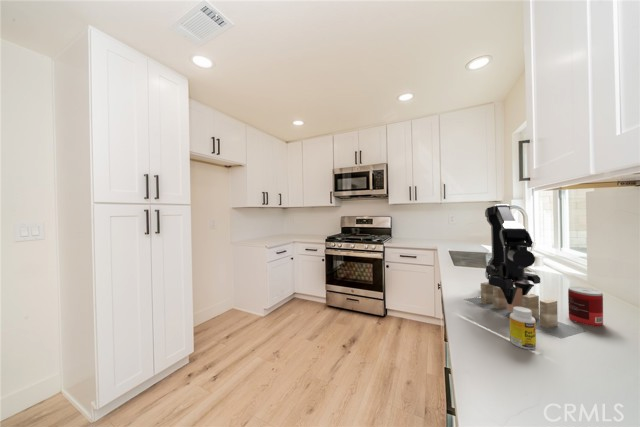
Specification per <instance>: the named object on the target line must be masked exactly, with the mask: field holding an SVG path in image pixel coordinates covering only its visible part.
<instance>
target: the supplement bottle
mask: <svg viewBox="0 0 640 427" xmlns="http://www.w3.org/2000/svg"><path fill="white" fill-rule="evenodd" d="M536 332H537V331H536V321H535V319H534V318H533V317H532V311H531V310H530V309H527V308H524V307H513V313H511V314H510V318H509V340H510V342H511V343H512V344H513V345H514V346H516V347H518V348H519V349H520V348H521V349H524V350H532V349H535V348H536V346H537V343H536V342H537V341H536V340H537V339H536V338H537V337H536V334H537V333H536Z"/></svg>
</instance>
